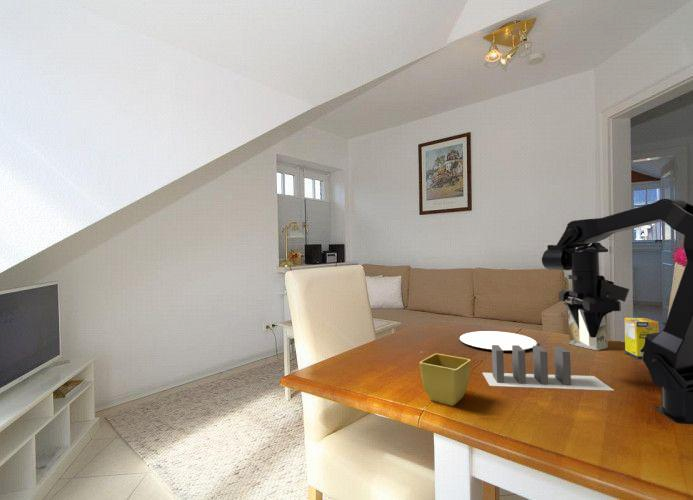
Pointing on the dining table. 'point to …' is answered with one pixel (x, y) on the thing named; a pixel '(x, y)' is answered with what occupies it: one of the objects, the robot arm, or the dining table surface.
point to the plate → (497, 340)
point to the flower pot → (445, 377)
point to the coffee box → (600, 338)
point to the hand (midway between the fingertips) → (587, 334)
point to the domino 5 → (585, 333)
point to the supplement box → (638, 334)
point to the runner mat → (550, 382)
